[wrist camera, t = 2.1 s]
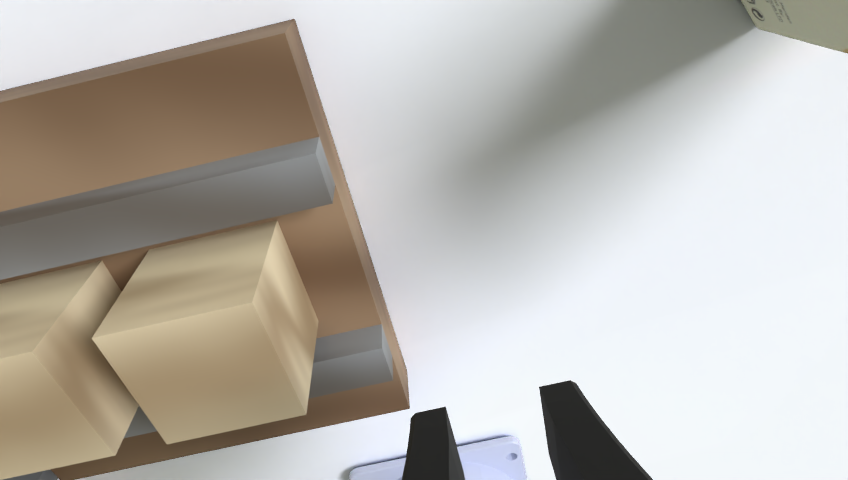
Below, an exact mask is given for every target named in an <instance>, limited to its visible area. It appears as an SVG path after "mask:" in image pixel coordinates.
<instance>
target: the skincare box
mask: <svg viewBox="0 0 848 480" xmlns="http://www.w3.org/2000/svg"><path fill="white" fill-rule="evenodd" d="M741 1H742V3H743V5H744V6H745V8H746V10H747V12H748V14H749V15H750V17H751V19H752V21H753V23H754V24H755V26H756V27H757V28H758V29H760V30H764V31H768V32H772V33H775V34H779V35H782V36H786V37H789V38H793V39H797V40H801V41H804V42H807V43H811V44H815V45H818V46H822V47H826V48H829V49H833V50H837V51H841V52H845V53H848V0H741Z"/></svg>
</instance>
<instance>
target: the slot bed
mask: <svg viewBox="0 0 848 480" xmlns="http://www.w3.org/2000/svg"><path fill="white" fill-rule="evenodd" d="M276 220H277V221H278V223H279V226H280V228H281V231H282V233H283V236H284V238H285V241H286V243H287V245H288V248H289V250H290V253H291V255H292V258H293V260H294V262H295V265H296V267H297V270H298V272H299V275H300V277H301V279H302V282H303V284H304V287H305V289H306V292H307V294H308V297H309V299H310V301H311V304H312V306H313V309H314V311H315V314H316V316H317V318H318V321H319V322H318V329H317V337H316V345H315V352H314V360H313V368H312V375H311V383H310V391H309V398H308V406H307V413H306V415H303V416H298V417H293V418H289V419H284V420H279V421H274V422H270V423H265V424H260V425H256V426H251V427H246V428H242V429H237V430H232V431H228V432H223V433H218V434H214V435H209V436H204V437H200V438H195V439H190V440H185V441H181V442H176V443H171V444H166V442H165V441H164V440H163V438H162V437H161V435H160V434H159V433H158V431H157V430H156V428H155V427H154V425H153V424H152V423H151V421H150V420H149V418H148V417H147V416H146V414H145V413H144V411H143V410H142V409H141V407H140V406H138V408H137V411H136V413H135V415H134V417H133V419H132V421H131V423H130V426H129V428H128V430H127V432H126V434H125V436H124V438H123V440H122V443H121V445H120V447H119V449H118V451H117V453H116V455H115V456H110V457H106V458H101V459H96V460H92V461H87V462H82V463H78V464H73V465H68V466H64V467H59V468H54V469H50V470H51V471H52V472H53V473H54V474H55V475H56V476H57V477H58V478H59V479H60V480H75V479H80V478H85V477H89V476H94V475H99V474H104V473H108V472H113V471H118V470H122V469H127V468H132V467H136V466H141V465H146V464H151V463H155V462H160V461H165V460H169V459H174V458H179V457H184V456H188V455H193V454H198V453H202V452H207V451H212V450H217V449H221V448H226V447H231V446H235V445H240V444H245V443H250V442H254V441H259V440H264V439H268V438H273V437H278V436H283V435H287V434H292V433H297V432H301V431H306V430H311V429H316V428H320V427H325V426H330V425H334V424H339V423H344V422H349V421H353V420H358V419H363V418H367V417H372V416H377V415H382V414H386V413H391V412H396V411H400V410H405V409H410V405H409V392H408V378H407V369H406V366H405V363H404V360H403V357H402V354H401V351H400V347H399V344H398V341H397V338H396V335H395V332H394V329H393V326H392V322H391V319H390V316H389V313H388V310H387V307H386V304H385V301H384V297H383V294H382V291H381V288H380V285H379V282H378V279H377V276H376V272H375V269H374V266H373V263H372V260H371V257H370V254H369V250H368V247H367V244H366V241H365V238H364V235H363V232H362V229H361V225H360V222H359V219H358V216H357V213H356V210H355V207H354V204H353V200H352V197H351V194H350V191H349V188H348V185H347V182H346V179H345V175H344V172H343V169H342V166H341V163H340V160H339V157H338V153H337V150H336V147H335V144H334V141H333V138H332V135H331V132H330V128H329V125H328V122H327V119H326V116H325V113H324V110H323V107H322V103H321V100H320V97H319V94H318V91H317V88H316V85H315V82H314V78H313V75H312V72H311V69H310V66H309V63H308V60H307V56H306V53H305V50H304V47H303V44H302V41H301V38H300V35H299V31H298V28H297V25H296V22H295V19H292V20H288V21H284V22H280V23H276V24H272V25H268V26H264V27H260V28H255V29H251V30H247V31H243V32H239V33H235V34H231V35H227V36H223V37H219V38H215V39H211V40H207V41H202V42H198V43H194V44H190V45H186V46H182V47H178V48H174V49H170V50H166V51H162V52H158V53H154V54H149V55H145V56H141V57H137V58H133V59H129V60H125V61H121V62H117V63H113V64H109V65H105V66H101V67H96V68H92V69H88V70H84V71H80V72H76V73H72V74H68V75H64V76H60V77H56V78H52V79H48V80H43V81H39V82H35V83H31V84H27V85H23V86H19V87H15V88H11V89H7V90H3V91H0V284H2V283H6V282H10V281H15V280H19V279H23V278H28V277H32V276H37V275H41V274H45V273H50V272H54V271H58V270H63V269H67V268H71V267H76V266H80V265H84V264H89V263H93V262H98V261H103V263H104V264H105V266H106V268H107V269H108V271H109V272H110V274H111V276H112V277H113V279H114V280H115V282H116V283H117V285H118V287H119V288H120V290H121V291H123V289H124V288H125V286H126V285H127V283H128V282H129V280H130V278H131V277H132V275H133V274H134V272H135V271H136V269H137V268H138V266H139V265H140V263H141V262H142V260H143V259H144V257H145V255H146V254H147V252H148V251H149V250H150V249H154V248H159V247H163V246H167V245H172V244H176V243H180V242H185V241H189V240H193V239H198V238H202V237H206V236H211V235H215V234H220V233H224V232H228V231H233V230H237V229H241V228H246V227H250V226H254V225H259V224H263V223H268V222H272V221H276Z"/></svg>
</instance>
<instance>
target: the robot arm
mask: <svg viewBox="0 0 848 480" xmlns="http://www.w3.org/2000/svg"><path fill="white" fill-rule="evenodd" d="M539 389H540V396H541V403H542V409H543V416H544V423H545V430H546V437H547V444H548V450H549V455H550V459H551V462H552V466H553V469H554V473H555V476H556V480H653V479H652V478H651V477H650V476H649V475H648V474H647V473H646V471H645V470H644V469H643V468H642V467H641V466H640V465H639V464H638V462H637V461H636V460H635V459H634V458H633V457H632V456H631V455H630V453H629V452H628V451H627V450H626V449H625V448H624V446H623V445H622V444H621V443H620V442H619V440H618V439H617V438H616V437H615V436H614V434H613V433H612V432H611V431H610V429H609V428H608V427H607V426H606V424H605V423H604V422H603V421H602V419H601V418H600V417H599V415H598V414H597V413H596V411H595V410H594V409H593V407H592V406H591V405H590V403H589V402H588V400H587V399H586V398H585V396H584V395H583V393H582V392H581V390H580V389H579V387H578V386H577V384H576V383H574V382H572V381H565V382H560V383H556V384H551V385H546V386H542V387H539ZM349 480H527V476H526V471H525V465H524V460H523V455H522V449H521V445H520V441H519V439H518V438H516V437H513V436H506V437H502V438H497V439H492V440H487V441H482V442H478V443H473V444H468V445H463V446H458V447H457V446H456V442H455V439H454V435H453V432H452V428H451V425H450V421H449V418H448V414H447V410H446V407H442V408H438V409H433V410H428V411H423V412H419V413H415V414H414V415H413V416H412V418H411V424H410V434H409V442H408V449H407V455H406V458H401V459H396V460H391V461H386V462H382V463H377V464H372V465H367V466H362V467H358V468H355V469H353V470H352V471H351V472H350V476H349Z"/></svg>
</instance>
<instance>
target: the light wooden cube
mask: <svg viewBox="0 0 848 480" xmlns="http://www.w3.org/2000/svg"><path fill="white" fill-rule="evenodd" d="M318 322H319V321H318V318H317V316H316V314H315V311H314V309H313V306H312V304H311V301H310V299H309V297H308V294H307V292H306V289H305V287H304V284H303V282H302V279H301V277H300V275H299V272H298V270H297V267H296V265H295V262H294V260H293V258H292V255H291V253H290V250H289V248H288V245H287V243H286V241H285V238H284V236H283V233H282V231H281V228H280V226H279V223H278V221H277V220H276V221H272V222H268V223H263V224H259V225H254V226H250V227H246V228H241V229H237V230H233V231H228V232H224V233H220V234H215V235H211V236H206V237H202V238H198V239H193V240H189V241H185V242H180V243H176V244H172V245H167V246H163V247H159V248H154V249H150V250H149V251H148V252H147V254H146V255H145V257H144V259H143V260H142V262H141V263H140V265H139V266H138V268H137V269H136V271H135V272H134V274H133V275H132V277H131V278H130V280H129V282H128V283H127V285H126V286H125V288H124V289H123V291H122V292H121V294H120V295H119V297H118V298H117V300H116V302H115V303H114V305H113V306H112V308H111V309H110V311H109V312H108V314H107V315H106V317H105V318H104V320H103V321H102V323H101V325H100V326H99V328H98V329H97V331H96V332H95V334H94V335H93V337H92V340H93V341H94V342H95V344H96V345H97V347H98V348H99V349H100V351H101V352H102V354H103V355H104V356H105V358H106V359H107V361H108V362H109V363H110V365H111V366H112V368H113V369H114V371H115V372H116V373H117V375H118V376H119V378H120V379H121V380H122V382H123V383H124V385H125V386H126V387H127V389H128V390H129V392H130V393H131V394H132V396H133V397H134V399H135V400H136V402H137V403H138V404H139V406H140V407H141V409H142V410H143V411H144V413H145V414H146V416H147V417H148V418H149V420H150V421H151V423H152V424H153V425H154V427H155V428H156V430H157V431H158V433H159V434H160V435H161V437H162V438H163V440H164V441H165V442H166V444H171V443H176V442H181V441H185V440H190V439H195V438H200V437H204V436H209V435H214V434H218V433H223V432H228V431H232V430H237V429H242V428H246V427H251V426H256V425H260V424H265V423H270V422H274V421H279V420H284V419H289V418H293V417H298V416H303V415H306V413H307V406H308V398H309V391H310V383H311V375H312V368H313V360H314V352H315V345H316V337H317V329H318Z"/></svg>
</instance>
